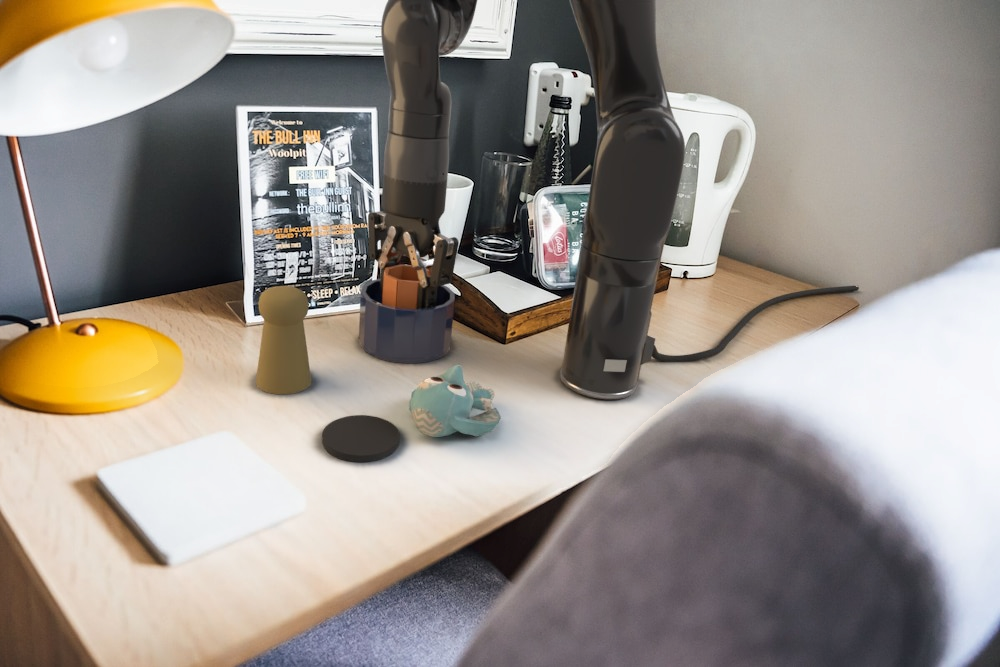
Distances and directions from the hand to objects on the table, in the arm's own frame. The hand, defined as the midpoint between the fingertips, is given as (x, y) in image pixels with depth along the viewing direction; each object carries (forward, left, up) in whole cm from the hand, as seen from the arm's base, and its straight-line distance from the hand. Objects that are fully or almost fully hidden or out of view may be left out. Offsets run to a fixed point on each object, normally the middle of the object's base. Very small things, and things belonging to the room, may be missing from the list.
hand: (406, 304), depth 97 cm
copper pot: (0, 0, -5) cm, 5 cm away
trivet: (+19, +15, -5) cm, 25 cm away
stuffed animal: (+9, +18, -6) cm, 21 cm away
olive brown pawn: (+18, 0, -6) cm, 19 cm away
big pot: (0, 0, -5) cm, 5 cm away
